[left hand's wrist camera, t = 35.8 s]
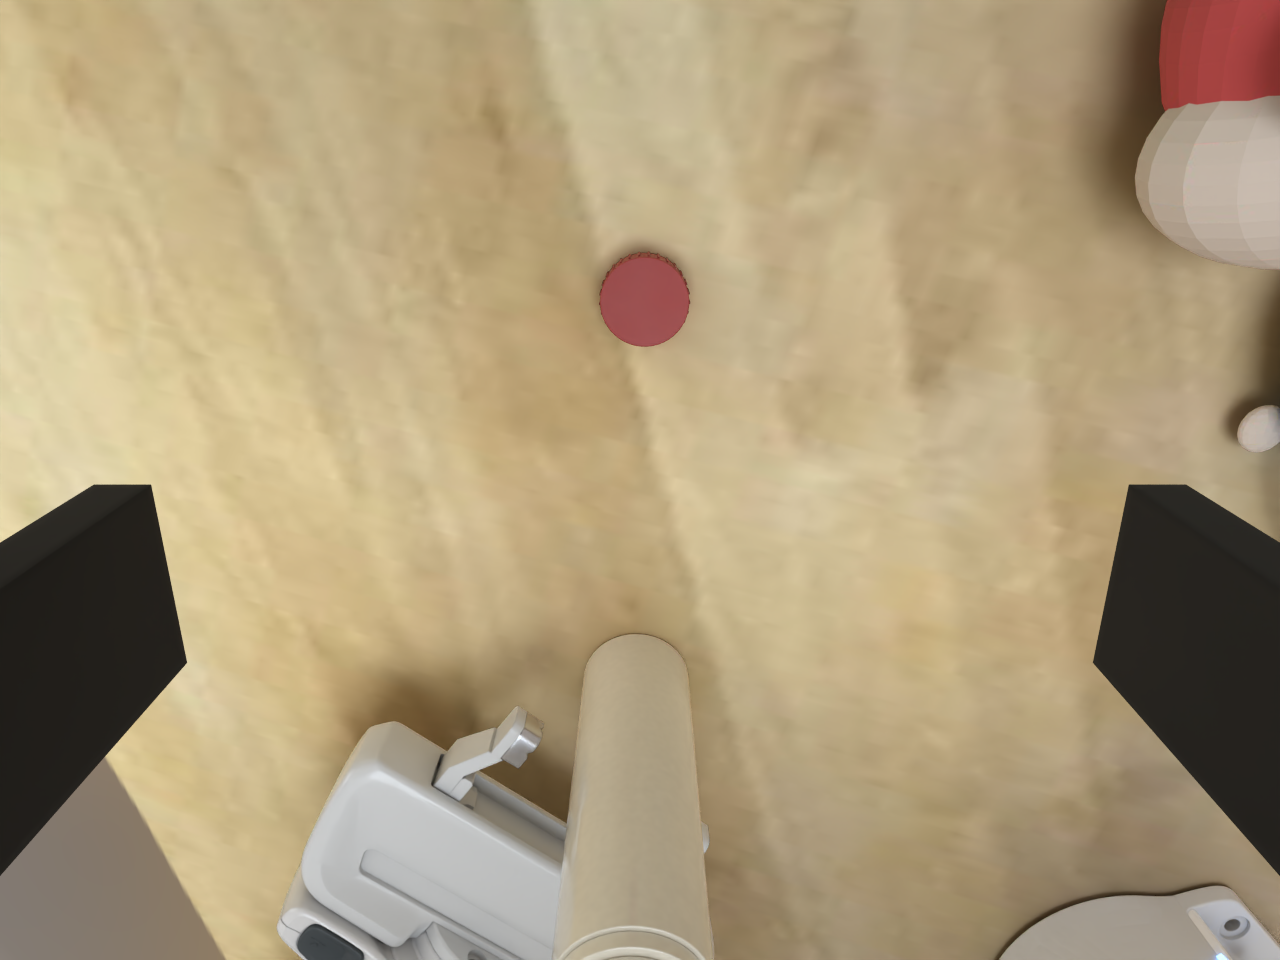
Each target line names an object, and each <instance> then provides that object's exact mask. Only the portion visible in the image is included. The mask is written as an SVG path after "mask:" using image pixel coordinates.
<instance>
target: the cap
mask: <svg viewBox="0 0 1280 960" xmlns="http://www.w3.org/2000/svg"><path fill="white" fill-rule="evenodd" d="M686 285H687V282H686V279H684V278H683V275H682V272H681V270H680V271H679V270H678V268H677V267H676V264H675V263H674V264H673V263H671V262H670V261H669V260H668V258H667V257H666V258H664V257H662V256H659V254H658V253H657V255H656V254H652V253H650V252H648V253H640V252H638V253H637V254H633V255H631V254H629V256H628V257H625V258H624V259H622V258H621V259H620V261H619V262H618V263H617V264H616V265H615V264H614V265H613V267H612V269H611V270H610V272H607V275H606V279H605V280H603V283H602V286H603V288H602V289H601V291H600V295H601V297H600V303H599V305H600V307H601V315H602V316H603V319H604V321H605V324H606V325H607V326H608V328H609V329H610V331H611V332H612V333H613V334H614V335H615V336H617V337H618V338H619V339H621V340H622V341H624V342H626V343H629V344H631V345H635V346H642V347H647V346H654V345H658V344H661V343H663V342H665V341H667V340H669V339H670V338H671V337H673V336H674V335H675V334H676V333H677V332H678V331H679V330H680V328H681V327H682V325H683V323H684V322H685V319H686V317H687V314H688V309H689V304H690V300H689V294H690V293H689V290H688V288H687V287H686Z"/></svg>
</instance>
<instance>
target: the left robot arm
mask: <svg viewBox="0 0 1280 960" xmlns="http://www.w3.org/2000/svg"><path fill="white" fill-rule="evenodd" d="M186 663H187V660H186V655H185V650H184V645H183V640H182V635H181V630H180V626H179V621H178V616H177V611H176V606H175V601H174V596H173V591H172V586H171V581H170V576H169V571H168V566H167V561H166V556H165V551H164V546H163V541H162V537H161V532H160V527H159V522H158V517H157V512H156V507H155V502H154V497H153V492H152V487H151V485H93V486H91V487H89V488H88V489H86V490H85V491H83V492H81V493H80V494H78V495H76V496H75V497H73V498H72V499H70V500H68V501H67V502H65V503H64V504H62V505H60V506H59V507H57V508H56V509H54V510H52V511H51V512H49V513H47V514H46V515H44V516H43V517H41V518H39V519H38V520H36V521H35V522H33V523H31V524H30V525H28V526H26V527H25V528H23V529H22V530H20V531H18V532H17V533H15V534H14V535H12V536H10V537H9V538H7V539H6V540H4V541H2V542H1V543H0V875H1V874H2V873H3V872H4V871H5V870H6V868H7V867H8V866H9V865H10V864H11V863H12V862H13V861H14V859H15V858H16V857H17V856H18V855H19V854H20V853H21V851H22V850H23V849H24V848H25V847H26V846H27V845H28V844H29V842H30V841H31V840H32V839H33V838H34V837H35V836H36V834H37V833H38V832H39V831H40V830H41V829H42V828H43V826H44V825H45V824H46V823H47V822H48V821H49V820H50V818H51V817H52V816H53V815H54V814H55V813H56V812H57V810H58V809H59V808H60V807H61V806H62V805H63V804H64V802H65V801H66V800H67V799H68V798H69V797H70V796H71V794H72V793H73V792H74V791H75V790H76V789H77V788H78V786H79V785H80V784H81V783H82V782H83V781H84V780H85V778H86V777H87V776H88V775H89V774H90V773H91V772H92V771H93V769H94V768H95V767H96V766H97V765H98V764H99V763H100V761H101V760H102V759H103V758H104V757H105V756H106V755H107V753H108V752H109V751H110V750H111V749H112V748H113V747H114V745H115V744H116V743H117V742H118V741H119V740H120V739H121V737H122V736H123V735H124V734H125V733H126V732H127V731H128V729H129V728H130V727H131V726H132V725H133V724H134V723H135V722H136V720H137V719H138V718H139V717H140V716H141V715H142V714H143V712H144V711H145V710H146V709H147V708H148V707H149V706H150V704H151V703H152V702H153V701H154V700H155V699H156V698H157V696H158V695H159V694H160V693H161V692H162V691H163V690H164V688H165V687H166V686H167V685H168V684H169V683H170V682H171V680H172V679H173V678H174V677H175V676H176V675H177V674H178V672H179V671H180V670H181V669H182V668H183V667H184V666H185V664H186ZM1093 663H1094V664H1095V666H1096V667H1097V668H1098V669H1099V670H1100V671H1101V672H1102V674H1103V675H1104V676H1105V677H1106V678H1107V679H1108V680H1109V682H1110V683H1111V684H1112V685H1113V686H1114V687H1115V688H1116V690H1117V691H1118V692H1119V693H1120V694H1121V695H1122V696H1123V698H1124V699H1125V700H1126V701H1127V702H1128V703H1129V704H1130V706H1131V707H1132V708H1133V709H1134V710H1135V711H1136V712H1137V714H1138V715H1139V716H1140V717H1141V718H1142V719H1143V720H1144V722H1145V723H1146V724H1147V725H1148V726H1149V727H1150V728H1151V729H1152V731H1153V732H1154V733H1155V734H1156V735H1157V736H1158V737H1159V739H1160V740H1161V741H1162V742H1163V743H1164V744H1165V745H1166V747H1167V748H1168V749H1169V750H1170V751H1171V752H1172V753H1173V755H1174V756H1175V757H1176V758H1177V759H1178V760H1179V761H1180V763H1181V764H1182V765H1183V766H1184V767H1185V768H1186V769H1187V771H1188V772H1189V773H1190V774H1191V775H1192V776H1193V777H1194V779H1195V780H1196V781H1197V782H1198V783H1199V784H1200V785H1201V786H1202V788H1203V789H1204V790H1205V791H1206V792H1207V793H1208V794H1209V796H1210V797H1211V798H1212V799H1213V800H1214V801H1215V802H1216V804H1217V805H1218V806H1219V807H1220V808H1221V809H1222V810H1223V812H1224V813H1225V814H1226V815H1227V816H1228V817H1229V818H1230V820H1231V821H1232V822H1233V823H1234V824H1235V825H1236V826H1237V828H1238V829H1239V830H1240V831H1241V832H1242V833H1243V834H1244V836H1245V837H1246V838H1247V839H1248V840H1249V841H1250V842H1251V844H1252V845H1253V846H1254V847H1255V848H1256V849H1257V850H1258V851H1259V853H1260V854H1261V855H1262V856H1263V857H1264V858H1265V859H1266V861H1267V862H1268V863H1269V864H1270V865H1271V866H1272V867H1273V869H1274V870H1275V871H1276V872H1277V873H1278V874H1279V875H1280V543H1279V542H1278V541H1276V540H1274V539H1273V538H1271V537H1270V536H1268V535H1266V534H1265V533H1263V532H1262V531H1260V530H1258V529H1257V528H1255V527H1254V526H1252V525H1250V524H1249V523H1247V522H1245V521H1244V520H1242V519H1241V518H1239V517H1237V516H1236V515H1234V514H1233V513H1231V512H1229V511H1228V510H1226V509H1224V508H1223V507H1221V506H1220V505H1218V504H1216V503H1215V502H1213V501H1212V500H1210V499H1208V498H1207V497H1205V496H1204V495H1202V494H1200V493H1199V492H1197V491H1195V490H1194V489H1192V488H1191V487H1189V486H1187V485H1129V487H1128V492H1127V497H1126V502H1125V507H1124V512H1123V517H1122V522H1121V527H1120V532H1119V537H1118V541H1117V546H1116V551H1115V556H1114V561H1113V566H1112V571H1111V576H1110V581H1109V586H1108V591H1107V596H1106V601H1105V606H1104V611H1103V616H1102V621H1101V626H1100V630H1099V635H1098V640H1097V645H1096V650H1095V655H1094V660H1093Z"/></svg>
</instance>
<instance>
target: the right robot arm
mask: <svg viewBox="0 0 1280 960" xmlns="http://www.w3.org/2000/svg"><path fill="white" fill-rule="evenodd" d="M543 728H544V722H543V721H541V720H540V719H538V718H537V717H535V716H534V715H532V714H531V713H529V712H528V711H526V710H524V709H523V708H521V707H519V706H516V707H515V708H514V709H513V710H512V711H511V713H510V714H509V715H508V716H507V717H506V719H505V720H504V721H503V722H502V723H501V724H500V726H499V727H498V728H495V727H494V728H491V729H488V730H484V731H481V732H478V733H475V734H472V735H469V736H466V737H463V738H459V739H457V740H456V741H455V743H454V744H453V745H452V746H451V748H450V749H449V750H448V751H446V750H444V749H443V748H441V747H439V746H438V745H436V744H434V743H433V742H431V741H430V740H428V739H426V738H425V737H423V736H421V735H420V734H418V733H416V732H415V731H413V730H411V729H410V728H408V727H407V726H405V725H403V724H402V723H400V722H397V721H392V722H386V723H382V724H378V725H374V726H371V727H370V728H369V729H368V730H367V731H366V732H365V734H364V735H363V736H362V738H361V739H360V741H359V742H358V743H357V745H356V746H355V748H354V750H353V751H352V753H351V755H350V756H349V758H348V760H347V762H346V763H345V765H344V767H343V769H342V771H341V773H340V775H339V777H338V779H337V780H336V782H335V784H334V786H333V788H332V790H331V792H330V794H329V796H328V798H327V800H326V802H325V804H324V806H323V808H322V811H321V813H320V815H319V817H318V819H317V822H316V824H315V826H314V828H313V830H312V832H311V835H310V837H309V839H308V841H307V844H306V846H305V848H304V852H303V855H302V861H301V863H300V865H299V867H298V869H297V871H296V873H295V876H294V878H293V880H292V882H291V885H290V887H289V890H288V892H287V895H286V898H285V901H284V904H283V907H282V910H281V913H280V916H279V920H278V923H277V931H278V934H279V936H280V937H281V938H282V940H283V941H284V942H285V943H286V944H287V945H288V946H289V947H290V948H291V949H292V950H293V951H294V952H295V953H297V954H298V955H299V956H300V957H301V958H302V959H303V960H551V956H552V947H553V939H554V930H555V921H556V913H557V904H558V895H559V887H560V878H561V869H562V860H563V852H564V843H565V834H566V826H567V823H565V822H564V821H562V820H560V819H559V818H557V817H555V816H554V815H552V814H550V813H549V812H547V811H545V810H544V809H542V808H540V807H539V806H537V805H535V804H534V803H532V802H530V801H529V800H527V799H525V798H524V797H522V796H520V795H519V794H517V793H515V792H514V791H512V790H510V789H509V788H507V787H506V786H504V785H502V784H501V783H499V782H497V781H496V780H494V779H492V778H491V777H489V776H487V775H486V774H484V773H482V772H481V771H479V770H481V769H483V768H486V767H488V766H491V765H493V764H496V763H498V762H501V761H503V760H504V761H506V762H508V763H509V764H511V765H513V766H515V767H516V768H518V769H519V768H520V766H521V765H522V764H523V763H524V762H525V761H526V760H527V756H528V753H531V752H533V751H534V750H535V749H536V748H537V746H538V745H539V743H540V741H541V739H542V735H543V732H542V729H543ZM701 825H702V837H703V848H704V853H705V852H706V850H707V848H708V846H709V842H710V839H709V830H708V825H706V824H705V823H703V822H702V821H701ZM709 917H710V916H709ZM710 929H711V941H712V952H713V960H714V941H713V933H712V927H711V921H710ZM999 960H1280V945H1279V944H1278V942H1277V941H1276V940H1275V939H1274V938H1273V937H1272V935H1271V934H1270V933H1269V932H1268V931H1267V930H1266V928H1265V927H1264V926H1263V925H1262V924H1261V923H1260V921H1259V920H1258V919H1257V918H1256V917H1255V916H1254V914H1253V913H1252V912H1251V911H1250V910H1249V908H1248V907H1247V906H1246V905H1245V904H1244V903H1243V901H1242V900H1241V899H1240V898H1239V897H1238V896H1237V894H1236V893H1235V892H1234V891H1233V890H1231V889H1230V888H1228V887H1225V886H1209V887H1204V888H1199V889H1195V890H1191V891H1187V892H1184V893H1180V894H1176V895H1173V896H1140V895H1124V896H1112V897H1105V898H1099V899H1094V900H1090V901H1086V902H1082V903H1079V904H1076V905H1073V906H1070V907H1068V908H1065V909H1063V910H1060V911H1058V912H1056V913H1054V914H1052V915H1050V916H1048V917H1046V918H1044V919H1043V920H1041V921H1039V922H1038V923H1036V924H1035V925H1033V926H1032V927H1030V928H1029V929H1028V930H1026V931H1025V932H1024V933H1023V934H1021V935H1020V936H1019V937H1018V938H1017V939H1016V940H1015V941H1014V942H1013V943H1012V944H1011V945H1010V946H1009V947H1008V948H1007V949H1006V951H1005V952H1004V953H1003V954H1002V956H1001V957H1000V959H999Z"/></svg>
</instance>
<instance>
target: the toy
mask: <svg viewBox="0 0 1280 960" xmlns="http://www.w3.org/2000/svg"><path fill="white" fill-rule="evenodd" d="M1159 66H1160V82H1161V98H1162V105H1163V107H1164V110H1165V113H1164V114H1163V115H1162V116H1161V118H1160V119H1159V121H1158V122H1157V124H1156V125H1155V127H1154V128H1153V129H1152V131H1151V132H1150V134H1149V135H1148V137H1147V139H1146V141H1145V144H1144V146H1143V148H1142V151H1141V153H1140V155H1139V158H1138V163H1137V168H1136V174H1135V185H1136V196H1137V198H1138V201H1139V204H1140V206H1141V209H1142V211H1143V213H1144V214H1145V216H1146V217H1147V218H1148V220H1149V221H1150V222H1151V224H1152V225H1153V226H1154V227H1155V228H1156V229H1157V230H1158V231H1160V232H1161V233H1162V234H1163V235H1165V236H1166V237H1167V238H1168V239H1169V240H1171V241H1173V242H1174V243H1176V244H1178V245H1179V246H1181V247H1183V248H1185V249H1186V250H1188V251H1190V252H1192V253H1194V254H1196V255H1198V256H1201V257H1204V258H1207V259H1210V260H1214V261H1217V262H1220V263H1225V264H1232V265H1238V266H1245V267H1251V268H1258V269H1280V0H1167V2H1166V6H1165V11H1164V15H1163V20H1162V24H1161V40H1160V55H1159ZM1237 437H1238V442H1239V443H1240V445H1241V446H1242V447H1243V448H1244V449H1246V450H1247V451H1250V452H1263V451H1266V450H1269V449H1271V448H1272V447H1274V446H1275V445H1277V444H1278V443H1279V442H1280V408H1279V407H1278V406H1274V405H1265V406H1260V407H1258V408H1256V409H1254V410H1252V411H1251V412H1249V413H1248V414H1247V415H1246V416H1245V418H1244V419H1243V420H1242V421H1241V423H1240V425H1239V427H1238V432H1237Z"/></svg>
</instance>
